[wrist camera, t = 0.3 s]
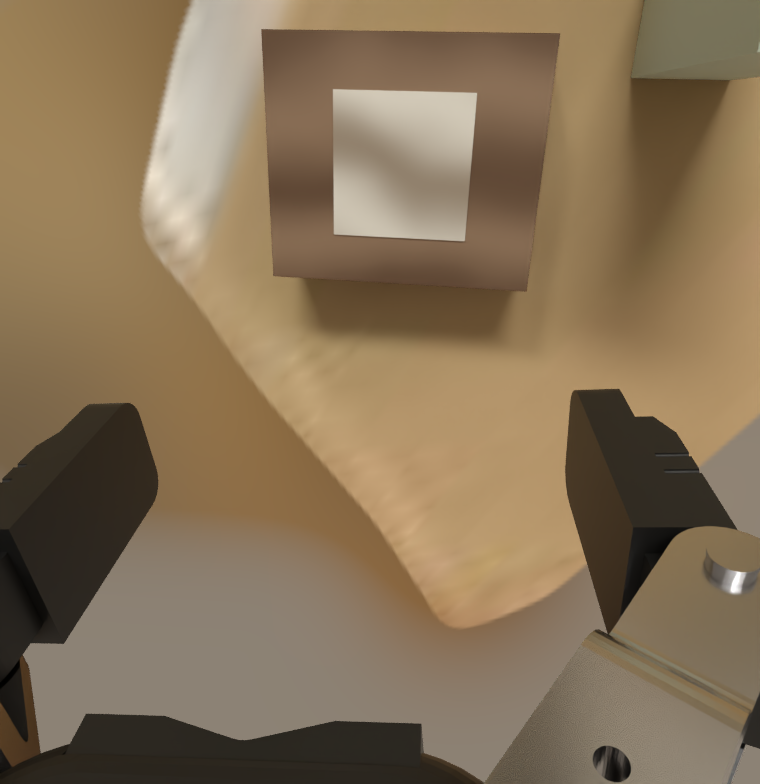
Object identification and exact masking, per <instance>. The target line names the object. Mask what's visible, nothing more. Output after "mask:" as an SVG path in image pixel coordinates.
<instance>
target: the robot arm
mask: <svg viewBox="0 0 760 784" xmlns="http://www.w3.org/2000/svg"><path fill="white" fill-rule="evenodd" d="M565 474H566V488H567V495H568V499H569V503H570V507H571V510H572V513H573V517H574V520H575V524H576V527H577V530H578V534H579V537H580V541H581V544H582V548H583V551H584V554H585V558H586V561H587V565H588V568H589V571H590V575H591V578H592V581H593V585H594V589H595V592H596V595H597V599H598V602H599V605H600V609H601V612H602V616H603V619H604V623H605V626H606V630H607V633H608V634H606V633H604V632H602V631H601V630H595V631H593V632H592V633H590V634H589V635H588V636H587V638H585V640H584V641H583V642H582V644H581V645H580V647H579V648H578V649H577V651H576V652H575V654H574V655H573V657H572V658H571V659H570V661H569V662H568V664H567V665H566V667H565V668H564V670H563V671H562V673H561V674H560V675H559V677H558V678H557V680H556V681H555V682H554V684H553V685H552V687H551V688H550V690H549V691H548V692H547V694H546V695H545V697H544V698H543V700H542V701H541V703H540V704H539V705H538V707H537V708H536V710H535V711H534V712H533V714H532V715H531V717H530V718H529V720H528V721H527V722H526V724H525V725H524V727H523V728H522V730H521V731H520V733H519V734H518V735H517V737H516V738H515V740H514V741H513V743H512V744H511V745H510V747H509V748H508V750H507V751H506V753H505V754H504V756H503V757H502V758H501V760H500V761H499V763H498V764H497V766H496V767H495V768H494V770H493V771H492V773H491V774H490V776H489V777H488V779H487V780H486V781H485V783H483V782H482V781H481V780H479V779H477V778H476V777H475V776H473V775H471V774H470V773H468V772H467V771H465V770H463V769H462V768H459V767H457V766H455V765H453V764H451V763H449V762H447V761H445V760H442V759H440V758H437V757H434V756H431V755H428V754H425V753H424V751H423V739H422V727H421V724H412V723H410V724H409V723H377V722H346V721H345V722H344V721H334V722H329V723H324V724H320V725H315V726H311V727H306V728H302V729H297V730H293V731H288V732H283V733H279V734H275V735H270V736H265V737H261V738H257V739H252V740H236V739H232V738H229V737H226V736H223V735H220V734H217V733H214V732H211V731H208V730H205V729H202V728H199V727H196V726H193V725H190V724H187V723H184V722H181V721H178V720H175V719H172V718H169V717H166V716H147V715H114V714H113V715H112V714H86V715H85V717H84V719H83V721H82V723H81V725H80V726H79V728H78V730H77V732H76V734H75V736H74V737H73V739H72V741H71V743H70V744H68V745H65V746H61V747H59V748H56V749H53V750H50V751H47V752H44V753H41V751H40V744H39V736H38V729H37V721H36V715H35V707H34V699H33V692H32V685H31V677H30V670H29V666H28V664H27V662H26V660H25V658H24V656H23V653H24V652H25V650H26V649H27V647H28V646H29V645H30V643H57V644H64V643H65V641H66V640H67V638H68V636H69V635H70V633H71V632H72V630H73V628H74V627H75V625H76V624H77V622H78V621H79V619H80V618H81V616H82V614H83V613H84V611H85V610H86V608H87V607H88V605H89V603H90V602H91V600H92V599H93V597H94V596H95V594H96V592H97V591H98V589H99V588H100V586H101V585H102V583H103V581H104V580H105V578H106V577H107V575H108V574H109V572H110V570H111V569H112V567H113V566H114V564H115V563H116V561H117V560H118V558H119V556H120V555H121V553H122V552H123V550H124V549H125V547H126V545H127V544H128V542H129V541H130V539H131V537H132V536H133V534H134V533H135V531H136V529H137V528H138V527H139V525H140V524H141V522H142V520H143V519H144V517H145V516H146V514H147V512H148V511H149V509H150V508H151V506H152V505H153V503H154V501H155V498H156V495H157V490H158V474H157V469H156V466H155V463H154V460H153V456H152V454H151V451H150V447H149V444H148V441H147V437H146V434H145V431H144V428H143V425H142V421H141V418H140V415H139V413H138V411H137V409H136V408H135V406H134V405H132V404H130V403H109V404H89V405H87V406H86V407H85V408H84V409H82V410H81V411H80V412H79V414H78V415H76V416H75V417H74V418H73V419H72V420H71V421H70V422H69V423H68V424H67V425H66V426H65V427H64V428H63V429H62V430H61V431H60V432H59V433H57V434H56V435H54V436H52V437H51V438H49V439H47V440H45V441H44V442H42V443H41V444H39V445H37V446H36V447H35V448H34V449H33V450H32V451H30V452H29V453H28V454H27V455H26V456H25V457H24V458H23V459H22V460H21V461H20V462H19V463H18V467H17V468H13V469H12V470H11V471H10V472H9V473H8V474H7V475H6V476H5V477H4V478H3V482H2V483H0V784H732V782H733V779H734V777H735V774H736V772H737V769H738V766H739V764H740V761H741V758H742V756H743V753H744V751H745V748H746V745H750V746H753V747H757V748H759V749H760V539H759V538H758V537H755V536H753V535H750V534H748V533H745V532H742V531H739V530H737V528H736V527H735V525H734V523H733V522H732V520H731V519H730V517H729V516H728V514H727V512H726V511H725V509H724V508H723V506H722V504H721V503H720V501H719V500H718V498H717V496H716V495H715V493H714V492H713V490H712V489H711V487H710V485H709V484H708V482H707V481H706V479H705V477H704V476H703V474H702V473H699V468H698V466H697V465H696V463H695V462H694V460H693V458H692V457H691V456H689V452H688V451H687V449H686V447H685V446H684V444H683V443H682V441H681V439H680V438H679V436H678V435H677V433H676V432H674V431H673V430H672V429H670V428H669V427H667V426H666V425H664V424H663V423H661V422H660V421H659V420H657V419H656V418H654V417H653V416H651V417H635V416H634V414H633V413H632V411H631V409H630V407H629V405H628V403H627V402H626V400H625V398H624V396H623V394H622V392H621V391H620V390H619V389H599V390H574V391H573V393H572V396H571V402H570V413H569V426H568V439H567V452H566V466H565Z"/></svg>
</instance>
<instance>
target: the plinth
mask: <svg viewBox="0 0 760 784" xmlns="http://www.w3.org/2000/svg"><path fill="white" fill-rule="evenodd" d="M261 30H262V51H263V71H264V92H265V112H266V133H267V153H268V174H269V194H270V215H271V235H272V256H273V276H282V277H299V278H315V279H331V280H347V281H364V282H380V283H396V284H412V285H429V286H445V287H461V288H477V289H494V290H510V291H527V283H528V276H529V268H530V260H531V253H532V245H533V237H534V230H535V222H536V214H537V207H538V199H539V191H540V184H541V176H542V168H543V161H544V153H545V145H546V138H547V130H548V122H549V115H550V107H551V99H552V92H553V84H554V76H555V69H556V61H557V53H558V46H559V38H560V33H488V32H415V31H343V30H271V29H261Z"/></svg>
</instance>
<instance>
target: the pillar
mask: <svg viewBox="0 0 760 784" xmlns="http://www.w3.org/2000/svg"><path fill="white" fill-rule="evenodd" d="M754 77H760V0H644V6H643V12H642V17H641V23H640V29H639V34H638V40H637V45H636V51H635V57H634V62H633V68H632V74H631V78H649V79H695V80H737V79H746V78H754Z"/></svg>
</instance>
